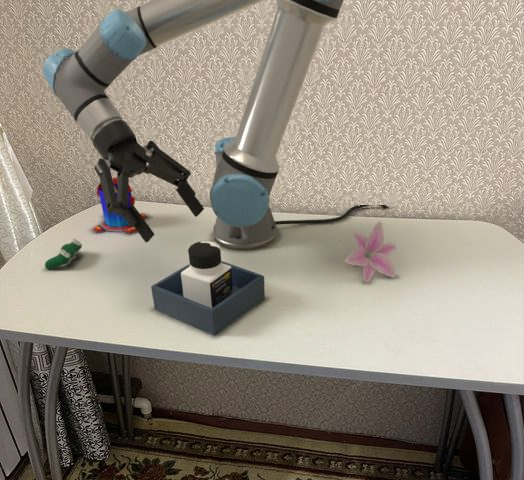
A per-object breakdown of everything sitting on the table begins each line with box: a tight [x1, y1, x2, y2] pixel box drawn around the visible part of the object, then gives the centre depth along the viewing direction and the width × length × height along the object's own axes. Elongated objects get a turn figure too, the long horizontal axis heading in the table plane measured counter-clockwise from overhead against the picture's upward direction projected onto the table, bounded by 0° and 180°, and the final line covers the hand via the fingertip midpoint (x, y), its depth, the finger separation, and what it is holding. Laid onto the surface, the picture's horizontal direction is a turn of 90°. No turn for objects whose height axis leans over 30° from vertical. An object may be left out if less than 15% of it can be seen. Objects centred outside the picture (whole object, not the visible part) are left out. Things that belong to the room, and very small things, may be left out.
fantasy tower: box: [92, 177, 149, 235], centre depth 140 cm, size 12×12×12 cm
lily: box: [344, 220, 398, 284], centre depth 119 cm, size 12×12×10 cm
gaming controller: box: [44, 238, 83, 270], centre depth 127 cm, size 9×4×6 cm
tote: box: [150, 260, 266, 336], centre depth 110 cm, size 16×16×5 cm
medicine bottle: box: [181, 240, 233, 308], centre depth 108 cm, size 7×7×12 cm
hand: (176, 225), depth 106 cm, fingers open, 13 cm apart
